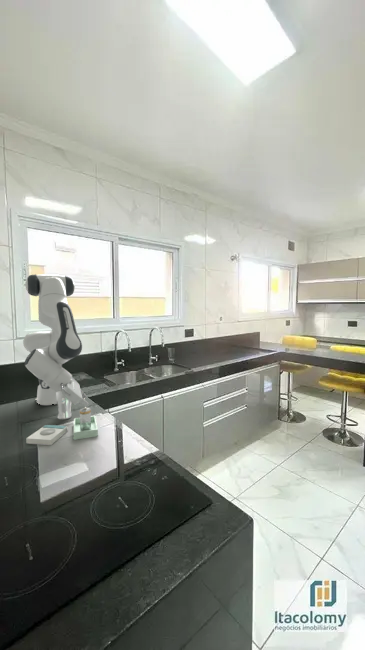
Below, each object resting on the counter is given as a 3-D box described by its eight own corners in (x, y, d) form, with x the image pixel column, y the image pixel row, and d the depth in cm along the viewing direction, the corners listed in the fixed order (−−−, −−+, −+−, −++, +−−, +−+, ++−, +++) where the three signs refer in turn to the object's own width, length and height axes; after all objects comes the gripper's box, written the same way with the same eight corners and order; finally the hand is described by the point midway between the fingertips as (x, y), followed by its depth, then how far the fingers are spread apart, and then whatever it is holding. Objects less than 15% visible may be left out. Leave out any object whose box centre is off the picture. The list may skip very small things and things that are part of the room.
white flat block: (45, 429, 118) (45, 424, 118) (67, 431, 117) (67, 425, 117) (26, 443, 106) (26, 437, 106) (50, 445, 105) (50, 439, 105)
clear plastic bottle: (66, 420, 128) (66, 388, 127) (53, 419, 129) (52, 387, 128) (75, 415, 135) (75, 384, 134) (62, 413, 136) (62, 383, 135)
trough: (74, 424, 124) (73, 418, 124) (95, 421, 127) (95, 415, 127) (73, 439, 110) (73, 432, 109) (97, 436, 113) (97, 429, 113)
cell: (82, 427, 119) (82, 405, 119) (92, 428, 119) (92, 406, 118) (77, 432, 115) (77, 409, 114) (88, 433, 114) (87, 409, 114)
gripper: (67, 382, 105) (94, 403, 109) (66, 369, 123) (89, 388, 128) (54, 394, 103) (82, 416, 108) (55, 380, 122) (79, 399, 127)
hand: (86, 401), depth 118 cm, fingers open, 8 cm apart
